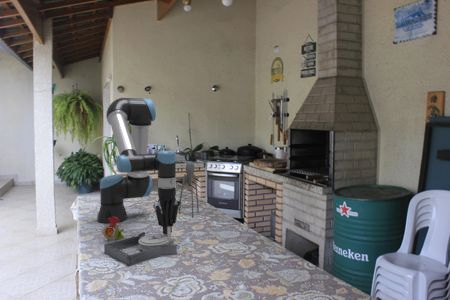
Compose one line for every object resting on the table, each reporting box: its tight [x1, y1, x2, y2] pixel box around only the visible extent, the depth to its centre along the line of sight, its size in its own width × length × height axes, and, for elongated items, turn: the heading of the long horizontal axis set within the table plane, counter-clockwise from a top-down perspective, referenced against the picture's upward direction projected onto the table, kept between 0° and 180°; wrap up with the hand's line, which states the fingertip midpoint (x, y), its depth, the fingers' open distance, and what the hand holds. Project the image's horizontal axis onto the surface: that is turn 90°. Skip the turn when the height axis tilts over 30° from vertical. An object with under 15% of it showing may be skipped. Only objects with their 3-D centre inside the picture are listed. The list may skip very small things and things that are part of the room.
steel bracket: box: [104, 231, 178, 267], centre depth 153 cm, size 24×21×4 cm
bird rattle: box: [102, 216, 124, 242], centre depth 168 cm, size 6×11×9 cm
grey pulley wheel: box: [138, 233, 170, 251], centre depth 158 cm, size 13×13×5 cm
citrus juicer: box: [178, 161, 200, 218], centre depth 210 cm, size 11×10×30 cm
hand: (167, 240), depth 164 cm, fingers closed
